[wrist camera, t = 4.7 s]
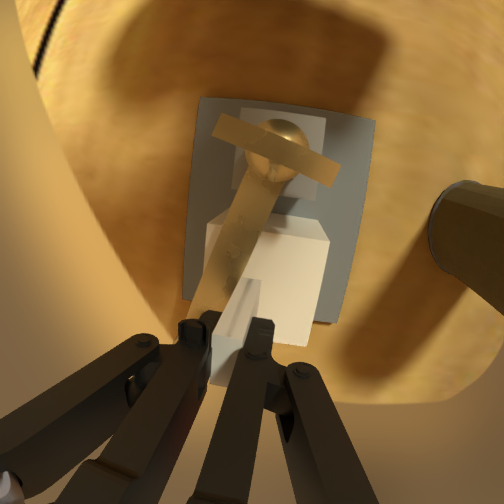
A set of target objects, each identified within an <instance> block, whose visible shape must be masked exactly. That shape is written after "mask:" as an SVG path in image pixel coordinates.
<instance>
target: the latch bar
mask: <svg viewBox="0 0 504 504" xmlns="http://www.w3.org/2000/svg"><path fill="white" fill-rule="evenodd" d="M211 136H214V137H216V138H219V139H221V140H224V141H226V142H229V143H231V144H234V145H236V146H239V147H241V148H243V149H245V157H246V160H247V163H248V165H249V166H248V168H247V170H246V173H245V175H244V177H243V179H242V182H241V184H240V186H239V189H238V191H237V193H236V195H235V198H234V200H233V202H232V205H231V207H230V210H229V212H228V214H227V217H226V219H225V221H224V224H223V226H222V229H221V231H220V233H219V236H218V238H217V241H216V243H215V245H214V248H213V250H212V253H211V255H210V258H209V260H208V263H207V265H206V268H205V270H204V273H203V275H202V278H201V280H200V283H199V285H198V288H197V290H196V293H195V295H194V298H193V300H192V303H191V305H190V308H189V311H188V313H187V316H186V318H185V319H192V318H193V319H199V318H200V316H201V315H202V313H204V312H206V311H207V310H213V311H219V312H223V311H224V309H225V307H226V305H227V303H228V301H229V299H230V297H231V295H232V293H233V291H234V289H235V288H236V286H237V284H238V282H239V280H240V278H241V276H242V274H243V272H244V269H245V267H246V265H247V263H248V261H249V259H250V256H251V254H252V252H253V250H254V248H255V245H256V243H257V241H258V239H259V237H260V235H261V232H262V230H263V228H264V226H265V224H266V222H267V219H268V217H269V215H270V213H271V211H272V209H273V206H274V204H275V202H276V200H277V198H278V196H279V193H280V191H281V189H282V187H283V185H284V182H285V181H287V180H290V179H292V178H294V177H295V176H297V175H298V174H299V173H300V174H302V175H304V176H306V177H308V178H311V179H313V180H315V181H317V182H319V183H321V184H323V185H325V186H327V187H329V188H331V187H332V185H333V183H334V180H335V178H336V176H337V174H338V172H339V170H340V168H341V165H340V164H338V163H336V162H335V161H333V160H331V159H329V158H327V157H324V156H322V155H320V154H318V153H316V152H314V151H312V150H310V149H309V143H308V140H307V137H306V135H305V134H304V132H303V131H302V130H301V129H300V128H299V127H298V126H297V125H295V124H294V123H292V122H290V121H287V120H283V119H270V120H266V121H264V122H262V123H260V124H258V125H257V126H255V125H253V124H250V123H248V122H245V121H243V120H240V119H237V118H235V117H232V116H230V115H227V114H224V113H221V115H220V117H219V119H218V122H217V124H216V126H215V128H214V131H213V133H212V135H211ZM177 341H178V336H177V337H176V339H175V341H174V342H173V344H176V343H177Z"/></svg>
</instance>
